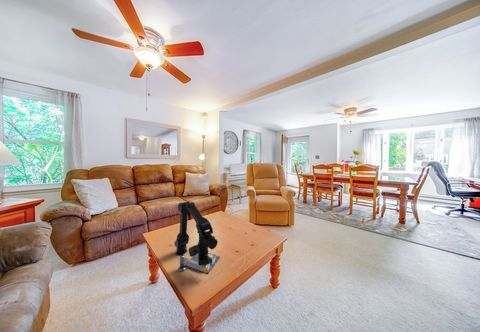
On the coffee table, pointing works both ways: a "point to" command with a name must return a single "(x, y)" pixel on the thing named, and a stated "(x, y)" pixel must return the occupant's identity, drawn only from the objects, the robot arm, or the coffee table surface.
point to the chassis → (212, 263)
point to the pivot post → (181, 264)
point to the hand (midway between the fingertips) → (203, 265)
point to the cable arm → (195, 265)
